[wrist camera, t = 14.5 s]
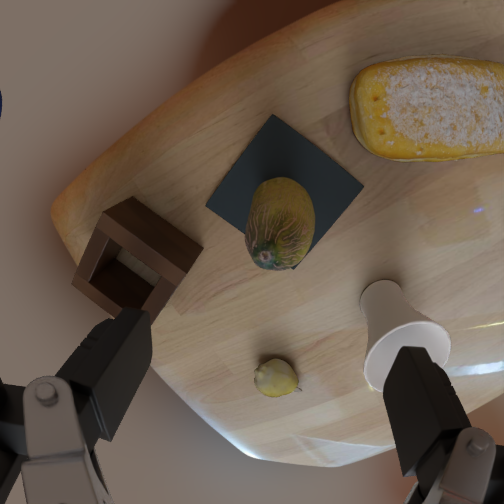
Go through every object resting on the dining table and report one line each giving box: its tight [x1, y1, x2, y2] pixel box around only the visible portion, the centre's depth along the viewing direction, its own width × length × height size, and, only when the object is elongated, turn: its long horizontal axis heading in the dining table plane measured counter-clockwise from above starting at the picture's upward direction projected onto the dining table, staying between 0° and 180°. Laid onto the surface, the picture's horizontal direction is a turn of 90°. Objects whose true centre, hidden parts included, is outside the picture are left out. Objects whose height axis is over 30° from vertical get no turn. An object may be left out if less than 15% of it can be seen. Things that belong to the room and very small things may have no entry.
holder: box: [71, 196, 203, 325], centre depth 40 cm, size 12×12×8 cm
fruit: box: [254, 359, 302, 397], centre depth 47 cm, size 6×6×10 cm
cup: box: [360, 280, 451, 392], centre depth 37 cm, size 10×10×14 cm
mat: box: [205, 114, 364, 270], centre depth 39 cm, size 14×14×1 cm
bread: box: [349, 54, 504, 162], centre depth 29 cm, size 13×26×8 cm, turn 105°
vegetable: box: [245, 177, 315, 270], centre depth 29 cm, size 6×6×20 cm
